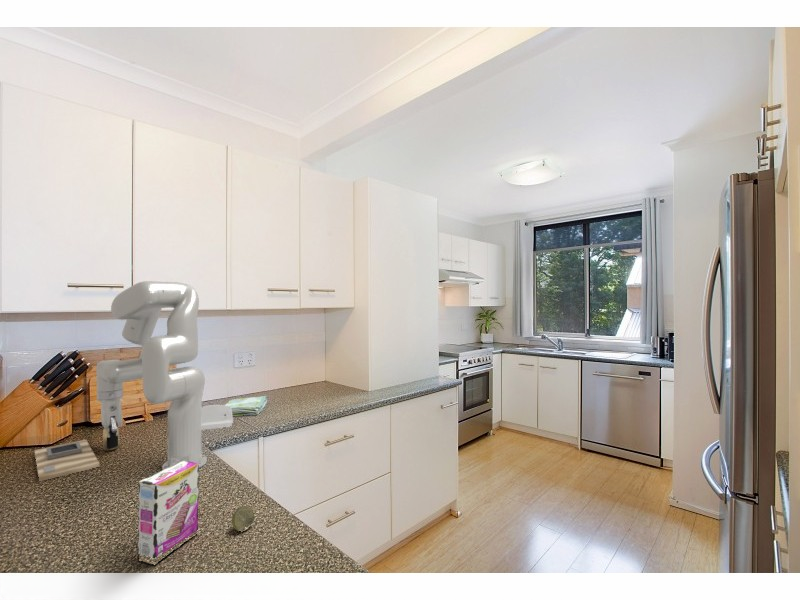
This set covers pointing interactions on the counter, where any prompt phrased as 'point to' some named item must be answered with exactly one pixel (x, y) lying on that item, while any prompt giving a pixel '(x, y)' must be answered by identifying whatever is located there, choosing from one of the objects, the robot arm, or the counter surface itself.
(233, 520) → the lime
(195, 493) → the candy bar box
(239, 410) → the towel
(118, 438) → the hinge barrel
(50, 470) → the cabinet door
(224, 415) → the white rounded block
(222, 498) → the counter surface
